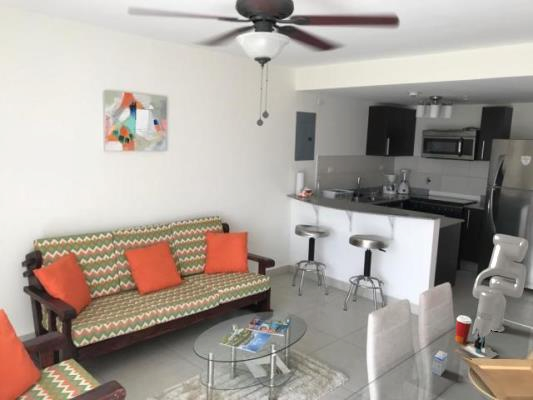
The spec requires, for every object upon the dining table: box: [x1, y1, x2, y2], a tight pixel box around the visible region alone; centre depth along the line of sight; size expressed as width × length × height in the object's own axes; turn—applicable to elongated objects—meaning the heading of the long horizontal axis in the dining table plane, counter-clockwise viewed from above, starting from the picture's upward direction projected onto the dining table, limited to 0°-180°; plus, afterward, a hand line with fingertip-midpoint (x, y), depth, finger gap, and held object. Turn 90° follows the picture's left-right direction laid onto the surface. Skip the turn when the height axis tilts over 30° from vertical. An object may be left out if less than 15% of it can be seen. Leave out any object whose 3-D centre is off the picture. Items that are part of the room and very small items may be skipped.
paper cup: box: [454, 315, 473, 345], centre depth 240 cm, size 8×8×14 cm
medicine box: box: [430, 350, 449, 377], centre depth 209 cm, size 8×4×9 cm, turn 141°
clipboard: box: [454, 341, 492, 359], centre depth 229 cm, size 18×14×2 cm
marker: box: [475, 337, 485, 354], centre depth 227 cm, size 3×3×12 cm
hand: (479, 347), depth 228 cm, fingers closed on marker, 2 cm apart
